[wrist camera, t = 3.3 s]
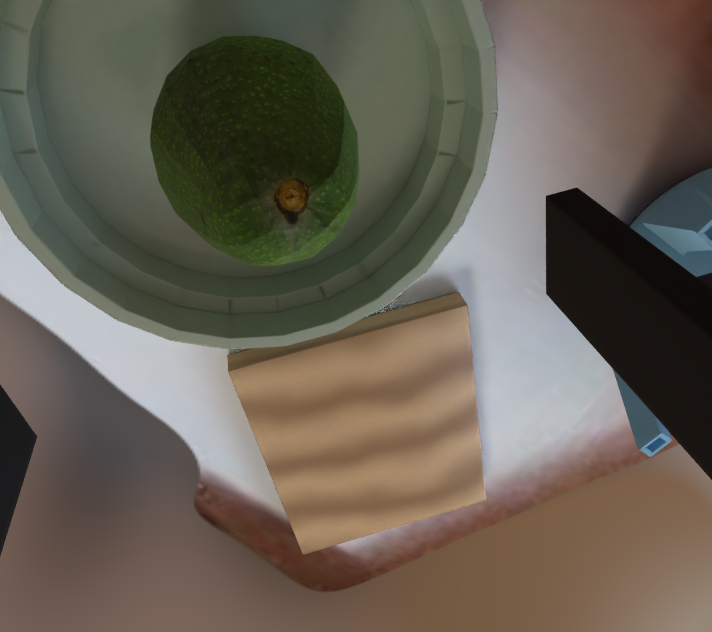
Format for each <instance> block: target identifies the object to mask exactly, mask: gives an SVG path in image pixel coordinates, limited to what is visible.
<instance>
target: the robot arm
mask: <svg viewBox="0 0 712 632" xmlns="http://www.w3.org/2000/svg"><path fill="white" fill-rule="evenodd" d="M546 294H547V295H548V296H549V297H550V298H551V300H552V301H553V302H554V303H555V304H556V305H557V306H558V307H559V309H560V310H561V311H562V312H563V313H564V314H565V315H566V316H567V318H568V319H569V320H570V321H571V322H572V323H573V324H574V325H575V327H576V328H577V329H578V330H579V331H580V332H581V333H582V334H583V336H584V337H585V338H586V339H587V340H588V341H589V342H590V343H591V345H592V346H593V347H594V348H595V349H596V350H597V351H598V352H599V354H600V355H601V356H602V357H603V358H604V359H605V360H606V361H607V363H608V364H609V365H610V366H611V367H612V368H613V369H614V370H615V372H616V373H617V374H618V375H619V376H620V377H621V378H622V379H623V381H624V382H625V383H626V384H627V385H628V386H629V387H630V388H631V390H632V391H633V392H634V393H635V394H636V395H637V396H638V397H639V399H640V400H641V401H642V402H643V403H644V404H645V405H646V406H647V408H648V409H649V410H650V411H651V412H652V413H653V414H654V415H655V417H656V418H657V419H658V420H659V421H660V422H661V423H662V424H663V426H664V427H665V428H666V429H667V430H668V431H669V432H670V433H671V435H672V436H673V437H674V438H675V439H676V440H677V441H678V442H679V444H680V445H681V446H682V447H683V448H684V449H685V450H686V451H687V452H688V454H689V455H690V456H691V457H692V458H693V459H694V460H695V461H696V463H697V464H698V465H699V466H700V467H701V468H702V469H703V471H704V472H705V473H706V474H707V475H708V476H709V477H710V478H711V480H712V273H708V274H705V275H701V276H698V277H696V276H694V275H693V274H692V273H690V272H689V271H688V270H686V269H685V268H684V267H682V266H681V265H680V264H678V263H677V262H676V261H674V260H673V259H672V258H670V257H669V256H668V255H666V254H665V253H664V252H662V251H661V250H660V249H658V248H657V247H656V246H654V245H653V244H652V243H650V242H649V241H648V240H646V239H645V238H644V237H642V236H641V235H640V234H638V233H637V232H636V231H634V230H633V229H632V228H630V227H629V226H628V225H626V224H625V223H624V222H622V221H621V220H620V219H618V218H617V217H616V216H614V215H613V214H612V213H610V212H609V211H608V210H606V209H605V208H604V207H602V206H601V205H600V204H598V203H597V202H596V201H594V200H593V199H592V198H590V197H589V196H588V195H586V194H585V193H584V192H582V191H581V190H580V189H578V188H574V189H570V190H566V191H563V192H559V193H555V194H551V195H548V196H546ZM36 439H37V436H36V434H35V433H34V432H33V430H32V429H31V427H30V426H29V425H28V423H27V422H26V421H25V419H24V417H23V416H22V415H21V413H20V412H19V410H18V409H17V408H16V406H15V405H14V403H13V402H12V401H11V399H10V398H9V396H8V395H7V393H6V392H5V391H4V389H3V388H2V387H1V385H0V555H1V552H2V549H3V545H4V542H5V539H6V535H7V533H8V529H9V526H10V523H11V519H12V516H13V513H14V510H15V507H16V503H17V500H18V497H19V494H20V490H21V487H22V484H23V481H24V477H25V474H26V471H27V468H28V464H29V461H30V458H31V455H32V452H33V448H34V445H35V442H36Z"/></svg>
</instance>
